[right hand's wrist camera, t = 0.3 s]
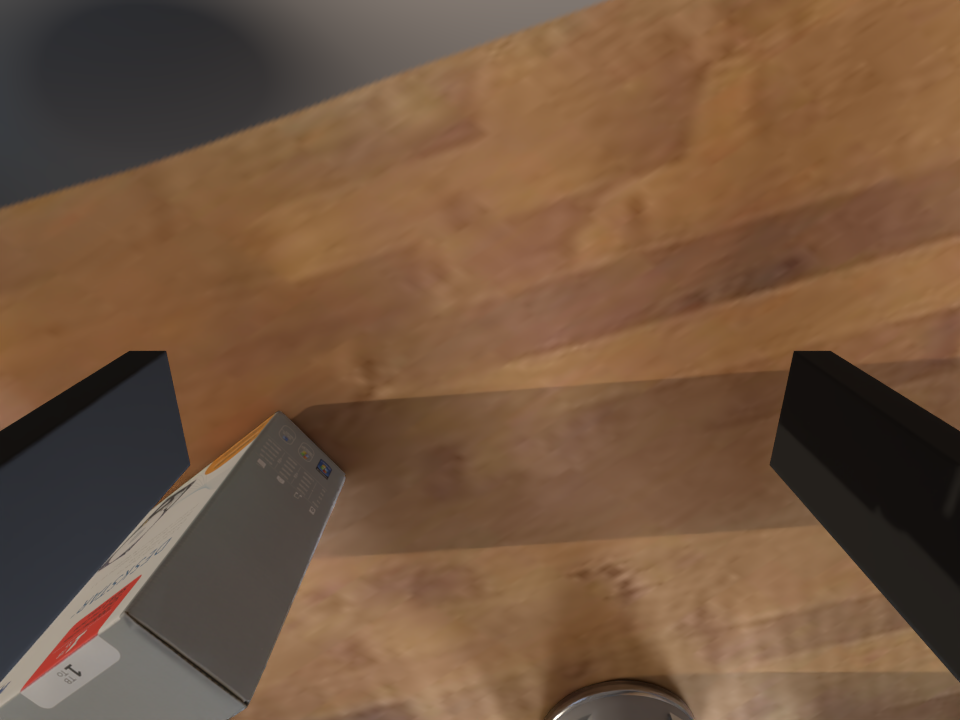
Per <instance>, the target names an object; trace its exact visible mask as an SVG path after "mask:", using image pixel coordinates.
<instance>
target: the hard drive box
mask: <svg viewBox="0 0 960 720" xmlns="http://www.w3.org/2000/svg"><path fill="white" fill-rule="evenodd" d="M344 475H345V473H344V472H343V471H342V470H341V469H340V468H339V467H338V466H337V465H336V464H335V463H334V462H333V461H332V460H331V459H330V458H329V457H328V456H327V455H326V454H325V453H324V452H323V451H322V450H321V449H320V448H319V447H317V446H316V445H315V444H314V443H313V442H312V441H311V440H310V439H309V438H308V437H307V436H306V435H305V434H304V433H303V432H302V431H301V430H300V429H299V428H298V427H297V426H296V425H295V424H294V423H293V422H292V421H291V420H290V419H289V418H288V417H287V416H286V415H285V414H283V413H282V412H281V411H278V412H276V413H275V414H273V415H272V416H271V417H269V418H268V419H267V420H266V421H264V422H263V423H262V424H260V425H259V426H258V427H257V428H255V429H254V430H253V431H251V432H250V433H249V434H248V435H246V436H245V437H244V438H242V439H241V440H240V441H239V442H237V443H236V444H235V445H234V446H232V447H231V448H230V449H228V450H227V451H226V452H225V453H223V454H222V455H221V456H219V457H218V458H217V459H216V460H214V461H213V462H212V463H211V464H209V465H208V466H207V467H205V468H204V469H203V470H202V471H200V472H199V473H198V474H197V475H195V476H194V477H193V478H191V479H190V480H189V481H187V482H186V483H185V484H183V485H182V486H181V487H180V488H179V489H177V490H176V491H175V492H173V493H172V494H171V495H170V496H168V497H167V498H166V499H165V500H163V501H162V502H161V503H160V504H158V505H157V506H156V507H155V508H153V509H152V510H151V511H150V512H149V513H148V514H147V515H146V516H145V517H144V519H143V520H142V521H141V522H140V523H139V524H138V525H137V527H136V528H135V529H134V530H133V531H132V532H131V533H130V535H129V536H128V537H127V538H126V539H125V540H124V541H123V543H122V544H121V545H120V546H119V547H118V548H117V549H116V551H115V552H114V553H113V554H112V555H111V556H110V557H109V559H108V560H107V561H106V562H105V563H104V564H103V565H102V567H101V568H100V569H99V570H98V571H97V572H96V574H95V575H94V576H93V577H92V578H91V579H90V580H89V582H88V583H87V584H86V585H85V586H84V587H83V588H82V590H81V591H80V592H79V593H78V594H77V595H76V596H75V598H74V599H73V600H72V601H71V602H70V603H69V604H68V606H67V607H66V608H65V609H64V610H63V611H62V612H61V614H60V615H59V616H58V617H57V618H56V619H55V620H54V622H53V623H52V624H51V625H50V626H49V627H48V628H47V630H46V631H45V632H44V633H43V634H42V635H41V636H40V638H39V639H38V640H37V641H36V642H35V643H34V644H33V646H32V647H31V648H30V649H29V650H28V651H27V653H26V654H25V655H24V656H23V657H22V658H21V659H20V661H19V662H18V663H17V664H16V665H15V666H14V667H13V669H12V670H11V671H10V672H9V673H8V674H7V675H6V677H5V678H4V679H3V680H2V681H1V682H0V720H229V719H230V718H232V717H233V716H235V715H236V714H238V713H239V712H241V711H242V710H244V709H245V708H247V706H248V704H249V702H250V701H251V699H252V696H253V694H254V692H255V689H256V687H257V685H258V682H259V680H260V678H261V675H262V673H263V671H264V669H265V667H266V664H267V662H268V659H269V657H270V655H271V652H272V650H273V647H274V645H275V643H276V640H277V638H278V636H279V633H280V631H281V628H282V626H283V624H284V621H285V619H286V617H287V614H288V612H289V610H290V607H291V605H292V603H293V600H294V598H295V596H296V593H297V591H298V589H299V586H300V584H301V582H302V580H303V577H304V575H305V573H306V570H307V568H308V566H309V563H310V561H311V559H312V556H313V554H314V551H315V549H316V547H317V545H318V542H319V540H320V538H321V535H322V533H323V531H324V528H325V526H326V524H327V521H328V519H329V517H330V514H331V512H332V510H333V507H334V505H335V503H336V500H337V498H338V496H339V493H340V491H341V489H342V486H343V484H344V481H345V478H346V477H345V476H344Z"/></svg>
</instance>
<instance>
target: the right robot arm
mask: <svg viewBox="0 0 960 720" xmlns="http://www.w3.org/2000/svg"><path fill="white" fill-rule="evenodd" d="M189 466H190V461H189V457H188V452H187V447H186V442H185V438H184V433H183V428H182V424H181V419H180V414H179V409H178V405H177V400H176V395H175V391H174V386H173V381H172V376H171V372H170V367H169V362H168V358H167V353H166V351H129V352H127V353H125V354H124V355H122V356H121V357H119V358H117V359H116V360H114V361H113V362H111V363H109V364H108V365H106V366H104V367H103V368H101V369H100V370H98V371H96V372H95V373H93V374H92V375H90V376H88V377H87V378H85V379H84V380H82V381H80V382H79V383H77V384H76V385H74V386H72V387H71V388H69V389H67V390H66V391H64V392H63V393H61V394H59V395H58V396H56V397H55V398H53V399H51V400H50V401H48V402H47V403H45V404H43V405H42V406H40V407H38V408H37V409H35V410H34V411H32V412H30V413H29V414H27V415H26V416H24V417H22V418H21V419H19V420H18V421H16V422H14V423H13V424H11V425H10V426H8V427H6V428H5V429H3V430H1V431H0V682H1V681H2V680H3V679H4V678H5V677H6V675H7V674H8V673H9V672H10V671H11V670H12V669H13V667H14V666H15V665H16V664H17V663H18V662H19V661H20V659H21V658H22V657H23V656H24V655H25V654H26V653H27V651H28V650H29V649H30V648H31V647H32V646H33V644H34V643H35V642H36V641H37V640H38V639H39V638H40V636H41V635H42V634H43V633H44V632H45V631H46V630H47V628H48V627H49V626H50V625H51V624H52V623H53V622H54V620H55V619H56V618H57V617H58V616H59V615H60V614H61V612H62V611H63V610H64V609H65V608H66V607H67V606H68V604H69V603H70V602H71V601H72V600H73V599H74V598H75V596H76V595H77V594H78V593H79V592H80V591H81V590H82V588H83V587H84V586H85V585H86V584H87V583H88V582H89V580H90V579H91V578H92V577H93V576H94V575H95V574H96V572H97V571H98V570H99V569H100V568H101V567H102V565H103V564H104V563H105V562H106V561H107V560H108V559H109V557H110V556H111V555H112V554H113V553H114V552H115V551H116V549H117V548H118V547H119V546H120V545H121V544H122V543H123V541H124V540H125V539H126V538H127V537H128V536H129V535H130V533H131V532H132V531H133V530H134V529H135V528H136V527H137V525H138V524H139V523H140V522H141V521H142V520H143V519H144V517H145V516H146V515H147V514H148V513H149V512H150V511H151V509H152V508H153V507H154V506H155V505H156V504H157V503H158V501H159V500H160V499H161V498H162V497H163V496H164V494H165V493H166V492H167V491H168V490H169V489H170V488H171V486H172V485H173V484H174V483H175V482H176V481H177V480H178V478H179V477H180V476H181V475H182V474H183V473H184V472H185V470H186V469H187V468H188V467H189ZM770 466H771V467H772V468H773V469H774V470H775V472H776V473H777V474H778V475H779V476H780V477H781V478H782V480H783V481H784V482H785V483H786V484H787V485H788V486H789V488H790V489H791V490H792V491H793V492H794V493H795V494H796V496H797V497H798V498H799V499H800V500H801V501H802V503H803V504H804V505H805V506H806V507H807V508H808V509H809V511H810V512H811V513H812V514H813V515H814V516H815V517H816V519H817V520H818V521H819V522H820V523H821V524H822V525H823V527H824V528H825V529H826V530H827V531H828V532H829V533H830V535H831V536H832V537H833V538H834V539H835V540H836V541H837V543H838V544H839V545H840V546H841V547H842V548H843V549H844V551H845V552H846V553H847V554H848V555H849V556H850V557H851V559H852V560H853V561H854V562H855V563H856V564H857V565H858V567H859V568H860V569H861V570H862V571H863V572H864V574H865V575H866V576H867V577H868V578H869V579H870V580H871V582H872V583H873V584H874V585H875V586H876V587H877V588H878V590H879V591H880V592H881V593H882V594H883V595H884V596H885V598H886V599H887V600H888V601H889V602H890V603H891V604H892V606H893V607H894V608H895V609H896V610H897V611H898V612H899V614H900V615H901V616H902V617H903V618H904V619H905V620H906V622H907V623H908V624H909V625H910V626H911V627H912V628H913V630H914V631H915V632H916V633H917V634H918V635H919V636H920V638H921V639H922V640H923V641H924V642H925V643H926V644H927V646H928V647H929V648H930V649H931V650H932V651H933V653H934V654H935V655H936V656H937V657H938V658H939V659H940V661H941V662H942V663H943V664H944V665H945V666H946V667H947V669H948V670H949V671H950V672H951V673H952V674H953V675H954V677H955V678H956V679H957V680H958V681H959V682H960V431H959V430H957V429H955V428H954V427H952V426H950V425H949V424H947V423H946V422H944V421H942V420H941V419H939V418H938V417H936V416H934V415H933V414H931V413H930V412H928V411H926V410H925V409H923V408H922V407H920V406H918V405H917V404H915V403H913V402H912V401H910V400H909V399H907V398H905V397H904V396H902V395H901V394H899V393H897V392H896V391H894V390H893V389H891V388H889V387H888V386H886V385H884V384H883V383H881V382H880V381H878V380H876V379H875V378H873V377H872V376H870V375H868V374H867V373H865V372H864V371H862V370H860V369H859V368H857V367H856V366H854V365H852V364H851V363H849V362H847V361H846V360H844V359H843V358H841V357H839V356H838V355H836V354H835V353H833V352H831V351H794V353H793V358H792V362H791V367H790V372H789V376H788V381H787V386H786V391H785V395H784V400H783V405H782V409H781V414H780V419H779V424H778V428H777V433H776V438H775V442H774V447H773V452H772V457H771V461H770ZM544 720H695V719H694V716H693V714H692V712H691V710H690V709H689V707H688V706H687V705H686V704H685V702H684V701H683V700H681V699H680V698H679V697H678V696H676V695H675V694H674V693H672V692H670V691H669V690H666V689H664V688H662V687H659V686H657V685H653V684H650V683H645V682H640V681H627V680H622V681H609V682H603V683H598V684H594V685H591V686H588V687H585V688H582V689H580V690H577V691H575V692H574V693H572V694H570V695H568V696H567V697H565V698H564V699H562V700H561V701H560V702H558V703H557V704H556V705H555V706H554V707H553V708H552V709H551V710H550V711H549V713H548V714H547V716H546V717H545V719H544Z"/></svg>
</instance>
